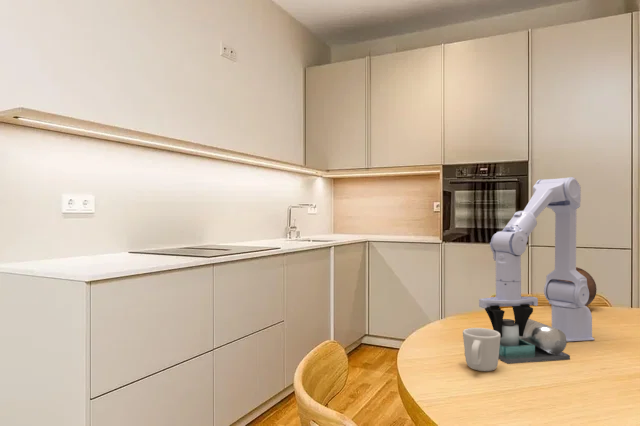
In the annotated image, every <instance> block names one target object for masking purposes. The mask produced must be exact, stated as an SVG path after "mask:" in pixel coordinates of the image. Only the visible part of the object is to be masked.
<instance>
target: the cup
mask: <svg viewBox="0 0 640 426" xmlns="http://www.w3.org/2000/svg"><path fill="white" fill-rule="evenodd" d="M462 337H463V338H462V339H463V348H464V355H465V356H464V357H465V363H466V365H467V366H468V367H469V368H470V369H472V370H475V371H479V372H492V371H495V370H496V369H497V367H498V365H499V359H498V358H499V348H500V338H501V335H500V333H499V332H497V331H495V330H493V329H492V328H485V327H469V328H466V329H465V328H464V330H462Z"/></svg>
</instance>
